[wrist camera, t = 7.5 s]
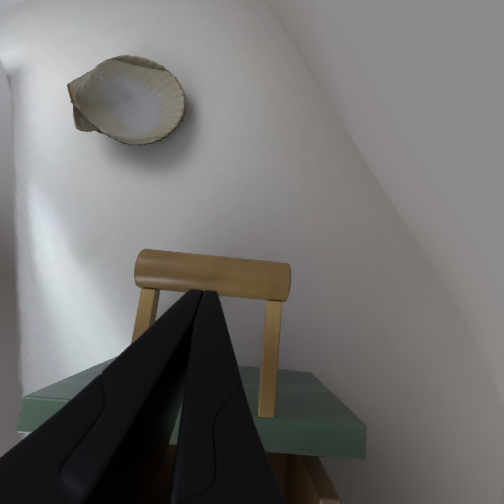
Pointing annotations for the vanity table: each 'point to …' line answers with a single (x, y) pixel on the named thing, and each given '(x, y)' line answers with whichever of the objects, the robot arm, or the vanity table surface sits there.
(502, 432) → the vanity table surface
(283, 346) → the vanity table surface
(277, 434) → the drawer
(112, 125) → the seashell
